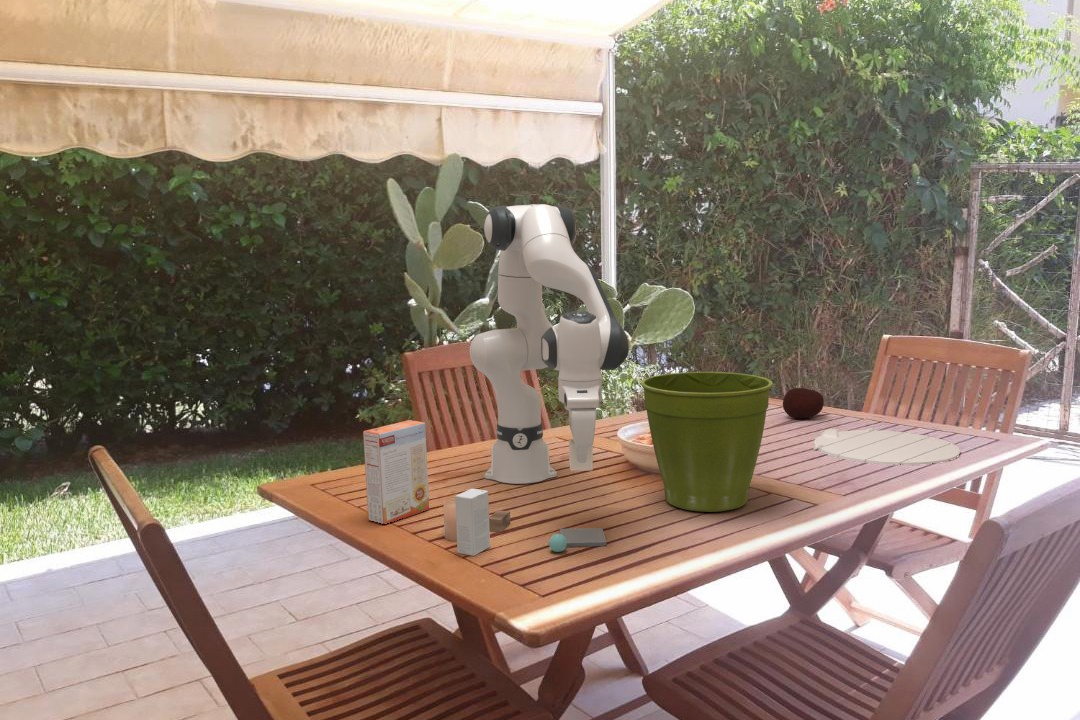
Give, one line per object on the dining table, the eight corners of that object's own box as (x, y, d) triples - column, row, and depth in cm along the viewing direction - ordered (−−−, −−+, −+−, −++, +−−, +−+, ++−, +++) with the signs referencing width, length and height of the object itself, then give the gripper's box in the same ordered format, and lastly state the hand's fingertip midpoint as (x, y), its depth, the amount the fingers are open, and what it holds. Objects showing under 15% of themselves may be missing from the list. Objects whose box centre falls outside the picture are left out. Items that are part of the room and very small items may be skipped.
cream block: (569, 465, 192) (569, 439, 192) (590, 464, 192) (590, 438, 192) (570, 470, 188) (570, 444, 187) (592, 470, 188) (592, 443, 187)
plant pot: (776, 489, 226) (778, 373, 222) (762, 527, 198) (764, 395, 194) (656, 480, 236) (656, 369, 232) (627, 514, 208) (626, 389, 204)
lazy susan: (784, 449, 267) (785, 437, 267) (854, 427, 293) (854, 417, 293) (919, 474, 238) (920, 461, 238) (983, 448, 264) (984, 437, 264)
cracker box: (412, 505, 217) (409, 418, 214) (430, 510, 214) (427, 421, 211) (366, 521, 207) (361, 429, 204) (384, 526, 203) (380, 433, 200)
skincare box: (473, 544, 191) (471, 487, 189) (490, 547, 188) (489, 490, 187) (456, 553, 185) (454, 495, 184) (473, 556, 183) (471, 498, 182)
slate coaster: (560, 532, 197) (560, 528, 197) (602, 531, 197) (602, 527, 197) (562, 547, 188) (562, 543, 188) (606, 545, 188) (606, 542, 188)
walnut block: (497, 523, 204) (497, 510, 204) (510, 524, 203) (510, 511, 203) (487, 532, 199) (487, 518, 198) (501, 533, 198) (500, 519, 197)
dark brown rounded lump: (826, 422, 300) (827, 391, 299) (784, 422, 302) (785, 390, 300) (819, 415, 311) (820, 385, 310) (779, 415, 313) (780, 385, 311)
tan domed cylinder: (445, 531, 199) (444, 499, 198) (478, 530, 199) (477, 498, 198) (443, 542, 192) (442, 509, 191) (477, 541, 192) (476, 508, 191)
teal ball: (548, 548, 187) (548, 531, 187) (566, 548, 187) (566, 531, 187) (549, 554, 184) (549, 537, 183) (567, 554, 184) (567, 537, 183)
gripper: (562, 384, 198) (562, 447, 200) (567, 401, 178) (568, 471, 180) (591, 383, 198) (591, 446, 200) (600, 401, 178) (600, 470, 180)
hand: (580, 458), depth 190 cm, fingers closed on cream block, 4 cm apart
